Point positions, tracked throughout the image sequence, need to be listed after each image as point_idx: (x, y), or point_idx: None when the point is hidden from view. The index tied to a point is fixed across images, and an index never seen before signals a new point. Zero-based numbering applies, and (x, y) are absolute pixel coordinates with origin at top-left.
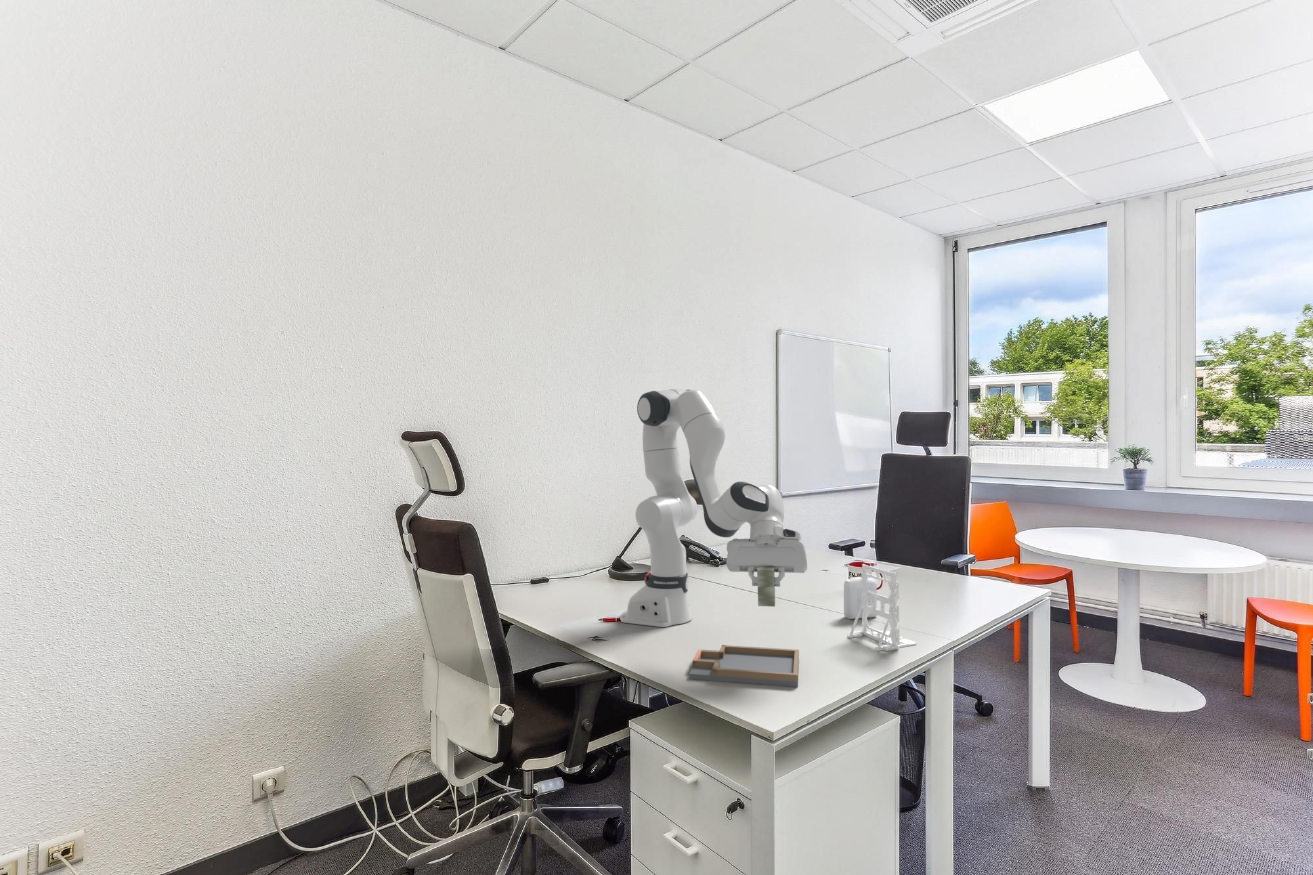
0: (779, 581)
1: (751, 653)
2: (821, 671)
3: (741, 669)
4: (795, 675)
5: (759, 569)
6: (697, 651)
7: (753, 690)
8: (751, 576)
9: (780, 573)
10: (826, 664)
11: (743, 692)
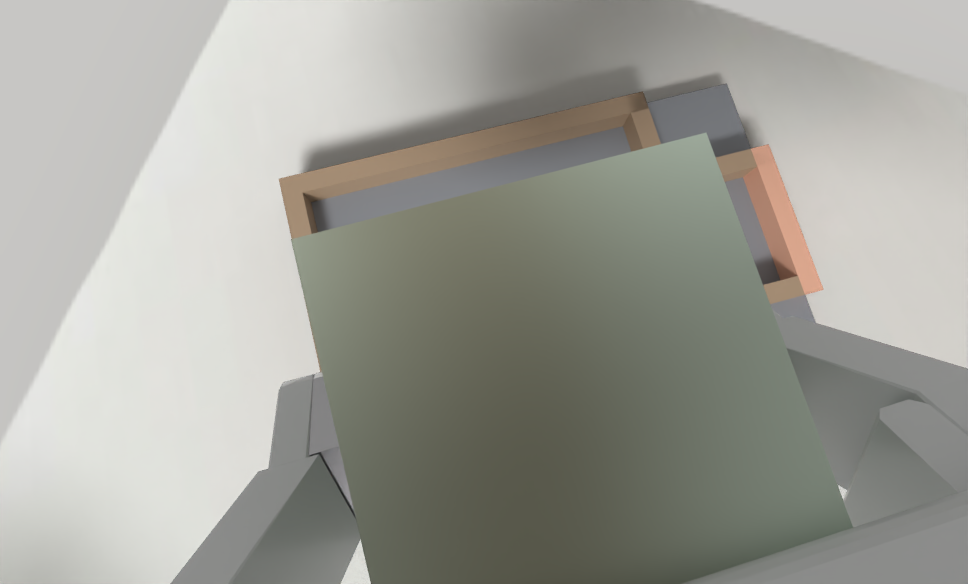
0: (285, 389)
1: None
2: (235, 410)
3: (526, 137)
4: (289, 178)
5: (651, 153)
6: (811, 263)
7: (447, 97)
8: (795, 319)
9: (244, 544)
10: None
11: (475, 66)
